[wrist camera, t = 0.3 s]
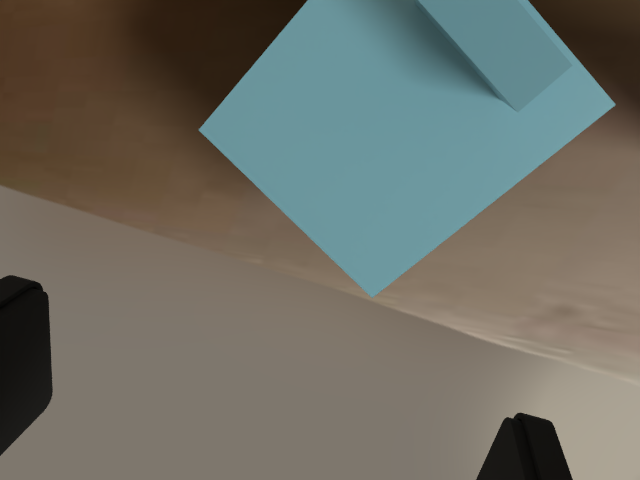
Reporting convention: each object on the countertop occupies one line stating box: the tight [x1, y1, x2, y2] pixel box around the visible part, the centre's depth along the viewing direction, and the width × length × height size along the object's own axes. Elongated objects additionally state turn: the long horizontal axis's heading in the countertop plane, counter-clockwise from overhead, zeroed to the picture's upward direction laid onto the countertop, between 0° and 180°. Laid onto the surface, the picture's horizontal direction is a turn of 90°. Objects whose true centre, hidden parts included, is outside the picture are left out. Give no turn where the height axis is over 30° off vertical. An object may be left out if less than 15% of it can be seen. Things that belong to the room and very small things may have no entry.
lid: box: [199, 0, 616, 298], centre depth 24 cm, size 15×13×6 cm
